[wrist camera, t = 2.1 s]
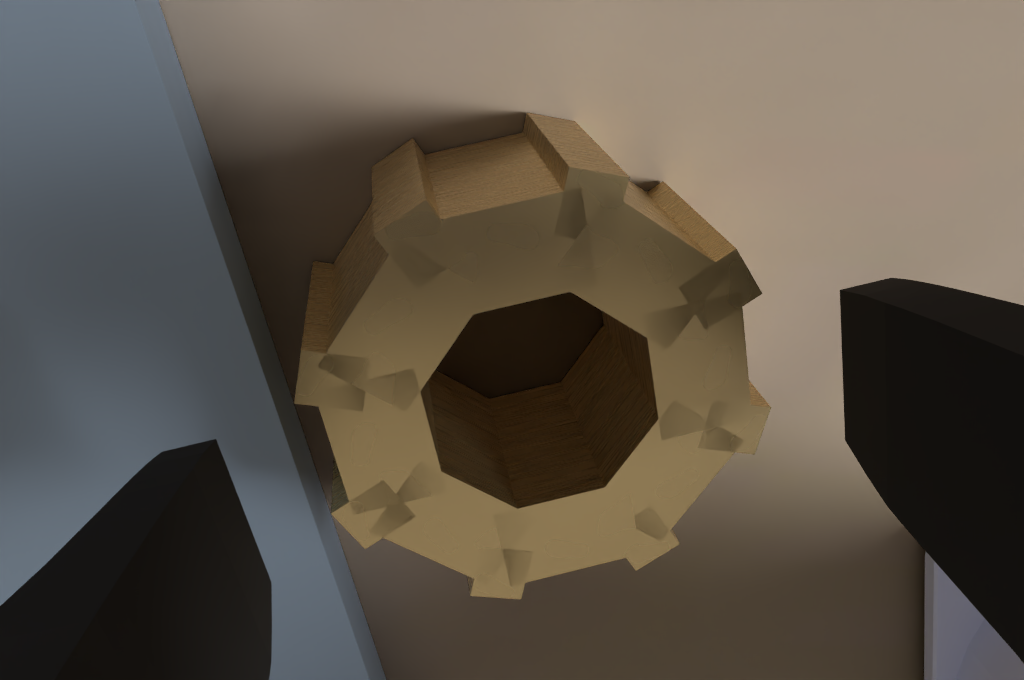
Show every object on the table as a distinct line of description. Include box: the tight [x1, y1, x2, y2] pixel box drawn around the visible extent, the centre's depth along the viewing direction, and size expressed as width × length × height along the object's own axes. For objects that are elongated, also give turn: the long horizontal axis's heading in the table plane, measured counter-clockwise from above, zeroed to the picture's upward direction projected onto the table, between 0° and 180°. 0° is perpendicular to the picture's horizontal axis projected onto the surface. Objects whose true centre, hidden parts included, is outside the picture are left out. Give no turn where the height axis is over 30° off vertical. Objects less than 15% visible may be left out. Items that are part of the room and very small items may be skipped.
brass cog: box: [294, 113, 771, 599], centre depth 13 cm, size 6×6×3 cm
